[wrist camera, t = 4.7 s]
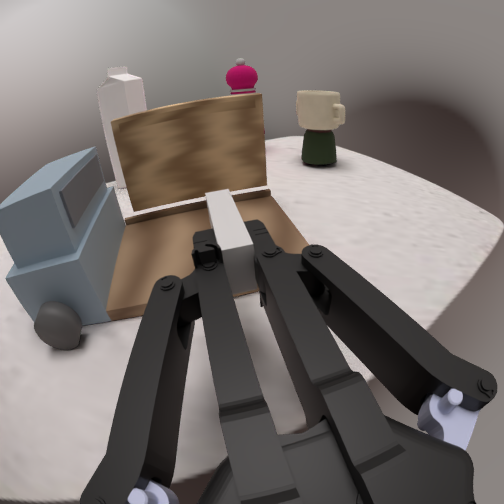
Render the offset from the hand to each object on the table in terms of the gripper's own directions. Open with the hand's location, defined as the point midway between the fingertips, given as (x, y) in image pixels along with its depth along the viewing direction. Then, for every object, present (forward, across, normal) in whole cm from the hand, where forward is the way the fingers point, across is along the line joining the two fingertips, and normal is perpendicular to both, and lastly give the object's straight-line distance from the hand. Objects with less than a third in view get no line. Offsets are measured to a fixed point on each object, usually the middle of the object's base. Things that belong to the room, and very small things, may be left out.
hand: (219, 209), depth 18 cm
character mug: (+27, +20, -8) cm, 34 cm away
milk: (+33, -12, -8) cm, 36 cm away
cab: (+6, -14, -7) cm, 17 cm away
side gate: (+14, -1, -5) cm, 15 cm away
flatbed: (+6, -2, -7) cm, 10 cm away
